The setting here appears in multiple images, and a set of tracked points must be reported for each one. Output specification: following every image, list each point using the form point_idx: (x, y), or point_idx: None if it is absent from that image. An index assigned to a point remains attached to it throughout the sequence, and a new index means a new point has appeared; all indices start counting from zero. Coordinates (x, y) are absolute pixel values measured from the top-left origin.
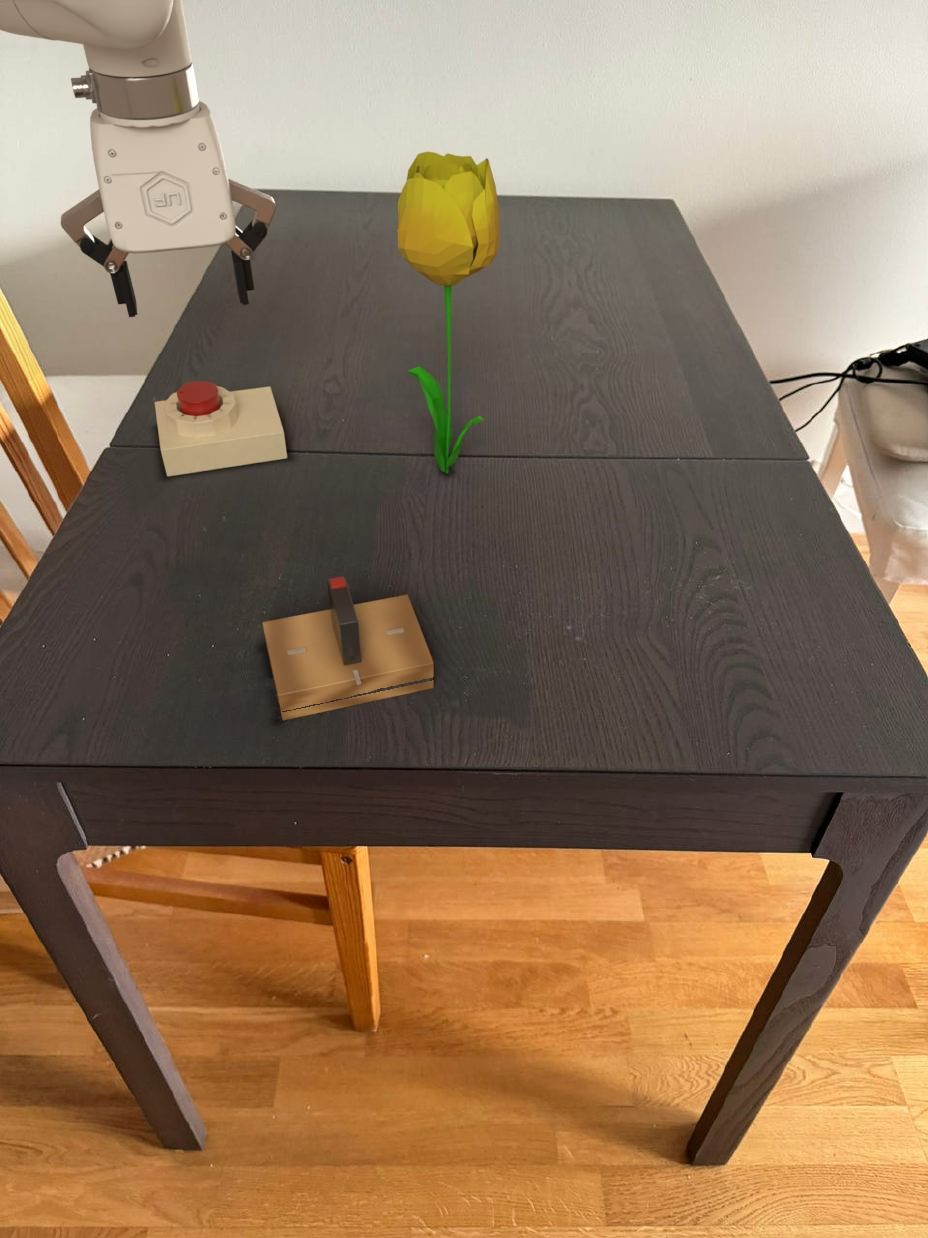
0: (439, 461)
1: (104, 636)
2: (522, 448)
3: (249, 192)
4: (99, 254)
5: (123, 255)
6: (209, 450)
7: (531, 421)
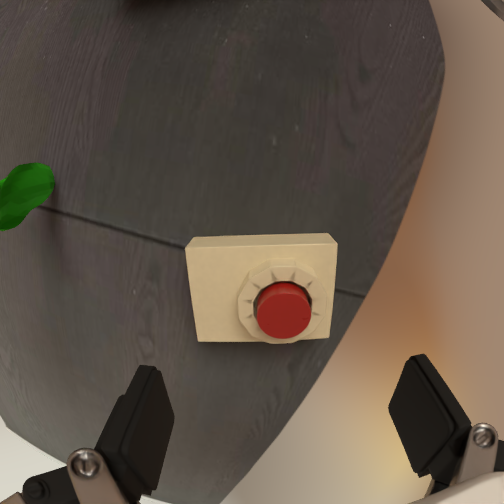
0: (46, 171)
1: (383, 24)
2: None
3: None
4: (501, 455)
5: (467, 469)
6: (279, 242)
7: (5, 247)
